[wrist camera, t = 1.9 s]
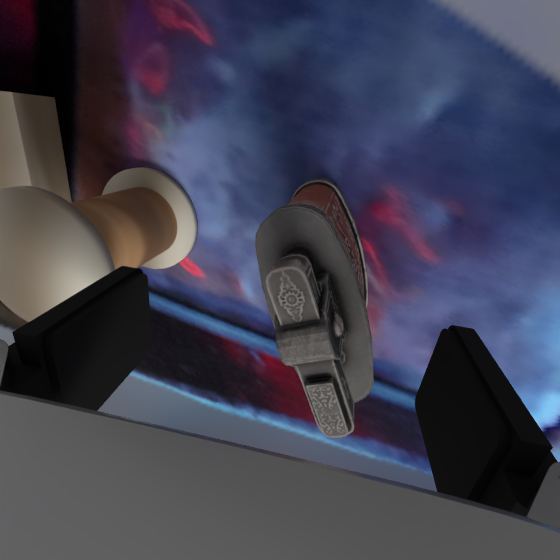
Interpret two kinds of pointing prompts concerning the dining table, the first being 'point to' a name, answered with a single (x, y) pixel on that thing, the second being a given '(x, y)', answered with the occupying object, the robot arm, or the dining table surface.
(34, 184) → the notched board
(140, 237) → the bobbin
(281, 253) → the lighter
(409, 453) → the dining table surface
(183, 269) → the dining table surface
